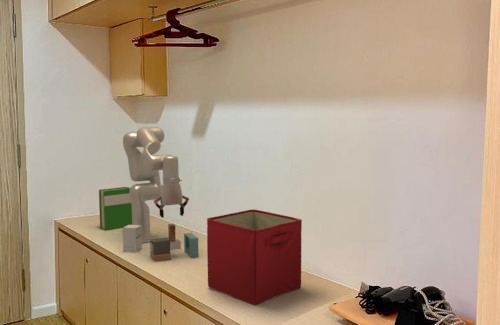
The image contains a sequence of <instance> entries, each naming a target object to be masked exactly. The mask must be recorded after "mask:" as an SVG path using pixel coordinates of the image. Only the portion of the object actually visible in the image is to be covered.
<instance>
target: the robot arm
mask: <svg viewBox="0 0 500 325" xmlns="http://www.w3.org/2000/svg"><path fill="white" fill-rule="evenodd" d="M164 140H165V132H164V130H163V129H162V127H159V126H144V127H140V128H139V129H137V131H130V132H127V133H125V134H124V135H123V138H122V146H123V150H124V152H125V154H126V157H127V161H128V170H129V176H130V179H131V181H133V182H142V183H135V184H133V185H131V186H130V187H129V188H130V190H129V193H130V198H131V205H132V225H141V234H142V244H144V243H150V242H151V239H154V237H153V236H151V221H150V220H151V216H150V207H149V205H148V204H147V203H146V201H153V203H154V205H155V206H156V207H157V208H158V209H159V216H160V217H161V218H163V219H164V217H165V215H164V214H165V213H164V207H165V206H174V205H175V206H177V205H179V206H180V207H179V215H180V216H181V217H183V216H184V214H185V206H186V205H188V202H189V200H190V197H187V196H184V195H183V192H182V186H181V183H180V182H182V180H183V179H182V178H180V177H179V158H178V156H176V155H172V154H156V153H158V152H159V151H160V150H161V147H162V146H161V143H162V142H163V141H164ZM139 148H143V149H142V152H141V150H140V149H139ZM160 171H162V184H161V175H160ZM147 181H149V182H147ZM143 182H145V183H143ZM183 199H184V202H183ZM158 202H160V204H159V203H158Z"/></svg>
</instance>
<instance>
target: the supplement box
mask: <svg viewBox="0 0 500 325" xmlns="http://www.w3.org/2000/svg"><path fill="white" fill-rule="evenodd" d="M142 244H143V243H142V234H141V225H127V226H125V227H123V228H122V252H126V253H137V252H138V251H140V250H142V248H143V247H142V246H143V245H142Z"/></svg>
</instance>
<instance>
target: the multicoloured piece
mask: <svg viewBox="0 0 500 325" xmlns="http://www.w3.org/2000/svg"><path fill="white" fill-rule="evenodd" d="M167 228H168V232H167V234H168V235H167V236H168V237H167V238H168V239H169V240H170V251H173V250H174V251H175V250H181V249H182V248H181V247H182V246H181V245H182V243H181V240H180V238H176V225H175V224H174V223H168V224H167ZM149 243H150V245H149V246H150V251H152V252H154V250H153V242H151V241H150V242H149Z"/></svg>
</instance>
